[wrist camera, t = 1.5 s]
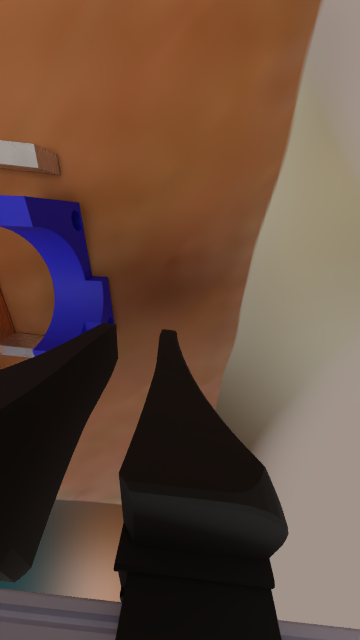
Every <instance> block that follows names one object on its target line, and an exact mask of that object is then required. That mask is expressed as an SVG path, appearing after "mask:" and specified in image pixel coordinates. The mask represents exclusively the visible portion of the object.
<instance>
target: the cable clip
mask: <svg viewBox="0 0 360 640" xmlns="http://www.w3.org/2000/svg"><path fill="white" fill-rule="evenodd" d="M0 227H3V228H6V229H9V230H12V231H14V232H15V233H17V234H19V235H21V236H22V237H24V238H25V239H26V240H27V241H29V242H30V243H31V244H32V245H33V246H34V247H35V248H36V249H37V250H38V252H39V253H40V254H41V256H42V257H43V259H44V261H45V262H46V264H47V266H48V269H49V271H50V274H51V276H52V280H53V285H54V291H55V307H54V313H53V317H52V321H51V324H50V326H49V328H48V330H47V332H46V334H45V336H44V337H43V339H42V340H41V341H40V343H39V344H38V345H37V346H36V347H35V348H34V349H33V350H32V351H33V354H34V356H37V355H40V354H42V353H44V352H46V351H48V350H50V349H52V348H54V347H57V346H59V345H61V344H63V343H65V342H67V341H69V340H71V339H73V338H75V337H76V336H78V335H80V334H82V333H84V332H86V331H88V330H90V329H92V328H94V327H96V326H98V325H100V324H102V323H110V324H114V319H113V312H112V305H111V298H110V291H109V284H108V277H93V276H92V274H91V268H90V263H89V257H88V251H87V246H86V240H85V235H84V229H83V223H82V218H81V212H80V207H79V203H76V202H68V201H60V200H51V199H43V198H34V197H26V196H4V195H0Z"/></svg>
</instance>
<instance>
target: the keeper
mask: <svg viewBox="0 0 360 640" xmlns="http://www.w3.org/2000/svg"><path fill="white" fill-rule="evenodd" d="M0 168H3V169H12V170H21V171H31V172H40V173H49V174H58V175H60V170H59V164H58V157H57V154H55V153H52V152H50V151H48V150H46V149H44V148H41V147H39V146H37V145H35V144H29V143H20V142H11V141H2V140H0ZM43 337H44V336H42V335H33V334H24V333H15V330H14V327H13V324H12V321H11V319H10V316H9V313H8V310H7V307H6V304H5V302H4V299H3V296H2V293H1V290H0V354H2V355H11V356H20V357H29V358H33V357H35V356H34V354H33V351H32V350H33V349H34V348H35V347H36V346H37V345H38V344H39V343H40V341H41V340H42V339H43Z"/></svg>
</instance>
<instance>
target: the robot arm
mask: <svg viewBox="0 0 360 640" xmlns="http://www.w3.org/2000/svg"><path fill="white" fill-rule="evenodd" d="M117 359H118V348H117V333H116V324H110V323H102V324H100V325H98V326H96V327H94V328H92V329H90V330H88V331H86V332H84V333H82V334H80V335H78V336H76V337H75V338H73V339H71V340H69V341H67V342H65V343H63V344H61V345H59V346H57V347H54V348H52V349H50V350H48V351H46V352H44V353H42V354H40V355H37V356H35V357H33V358H30V359H28V360H25V361H23V362H20V363H18V364H15V365H13V366H10V367H7V368H4V369H1V370H0V581H9V582H16V581H17V580H19V579H20V578H21V577H22V576H23V575H24V574H26V573H27V571H28V570H29V569H30V568H31V566H32V564H33V561H34V558H35V555H36V552H37V549H38V546H39V543H40V540H41V537H42V535H43V532H44V529H45V526H46V523H47V521H48V518H49V515H50V512H51V509H52V507H53V504H54V501H55V499H56V496H57V493H58V491H59V488H60V485H61V483H62V480H63V477H64V475H65V472H66V470H67V467H68V465H69V462H70V460H71V457H72V455H73V452H74V450H75V448H76V445H77V443H78V441H79V438H80V436H81V433H82V431H83V429H84V427H85V424H86V422H87V420H88V418H89V416H90V415H91V413H92V411H93V409H94V407H95V405H96V403H97V402H98V400H99V398H100V396H101V394H102V392H103V390H104V389H105V387H106V385H107V383H108V381H109V379H110V377H111V375H112V373H113V370H114V368H115V365H116V362H117ZM119 480H120V490H121V500H122V510H123V520H124V523H123V528H122V532H121V537H120V542H119V546H118V551H117V555H116V559H115V564H114V571H118V572H119V578H120V583H121V592H120V599H121V602H114V601H105V600H96V599H87V598H79V597H70V596H61V595H52V594H44V593H35V592H26V591H17V590H8V589H0V640H360V629H351V628H343V627H333V626H324V625H316V624H306V623H298V622H290V621H281V620H277V615H276V610H275V606H274V601H273V596H272V592H271V589H273V588H274V587H275V583H274V577H273V572H272V568H271V564H270V559H269V558H270V557H271V556H272V555H273V554H274V553H275V552H276V551H277V550H278V549H279V548H280V547H281V546H282V545H283V543H284V542H285V540H286V538H287V536H288V527H287V523H286V520H285V516H284V513H283V510H282V507H281V504H280V501H279V499H278V496H277V494H276V491H275V489H274V487H273V485H272V482H271V479H270V477H269V475H268V472H267V470H266V468H265V466H263V464H262V463H261V462H260V461H259V460H258V459H257V458H256V457H255V456H254V455H253V454H252V453H251V452H250V451H249V450H248V449H247V448H246V447H245V446H244V444H243V443H242V442H241V441H240V440H239V439H238V438H237V437H236V436H235V434H234V433H232V431H231V430H230V429H229V427H228V426H227V425H226V424H225V423H224V422H223V420H222V419H221V418H220V416H219V415H218V414H217V412H216V411H215V410H214V408H213V407H212V406H211V405H210V403H209V402H208V401H207V399H206V398H205V396H204V395H203V393H202V392H201V390H200V388H199V387H198V385H197V384H196V382H195V380H194V378H193V377H192V375H191V373H190V371H189V369H188V367H187V365H186V362H185V360H184V357H183V355H182V352H181V350H180V347H179V343H178V339H177V333H176V331H172V330H163V329H162V332H161V334H160V338H159V346H158V355H157V363H156V368H155V372H154V376H153V379H152V383H151V386H150V389H149V392H148V395H147V398H146V402H145V405H144V407H143V410H142V413H141V416H140V419H139V422H138V425H137V428H136V430H135V433H134V435H133V438H132V441H131V443H130V446H129V448H128V451H127V454H126V456H125V459H124V461H123V464H122V466H121V469H120V471H119Z"/></svg>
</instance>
